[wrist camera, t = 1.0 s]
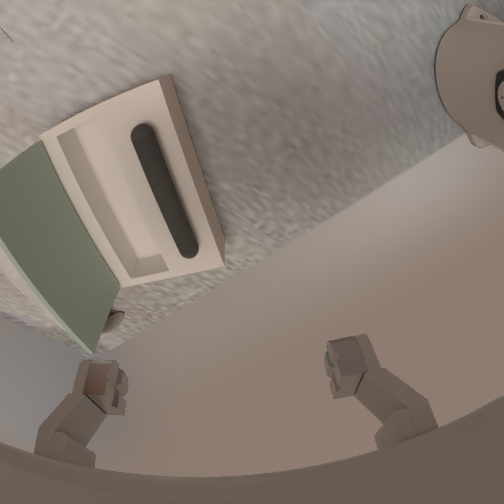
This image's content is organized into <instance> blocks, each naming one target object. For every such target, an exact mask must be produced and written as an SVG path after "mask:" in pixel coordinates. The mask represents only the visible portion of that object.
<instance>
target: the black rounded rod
mask: <svg viewBox="0 0 504 504" xmlns="http://www.w3.org/2000/svg"><path fill="white" fill-rule="evenodd" d="M131 141H132V144H133V146H134V149H135V151H136V154H137V156H138V159H139V161H140V164H141V166H142V168H143V171H144V173H145V176H146V178H147V181H148V183H149V185H150V188H151V190H152V192H153V195H154V197H155V199H156V202H157V204H158V206H159V208H160V211H161V213H162V215H163V218H164V220H165V222H166V224H167V226H168V229H169V231H170V233H171V235H172V237H173V240H174V242H175V244H176V246H177V248H178V250H179V252H180V254H181V255H182V256H183V257H184V258H187V259H191V258H194V257H195V256H196V255H197V254H198V251H199V246H198V243H197V241H196V238H195V236H194V233H193V231H192V228H191V226H190V224H189V221H188V219H187V216H186V214H185V211H184V209H183V206H182V204H181V201H180V199H179V196H178V194H177V191H176V188H175V186H174V183H173V181H172V178H171V176H170V173H169V170H168V168H167V165H166V162H165V160H164V157H163V154H162V152H161V149H160V146H159V144H158V141H157V138H156V135H155V133H154V130H153V128H152V127H151V126H150V125H148V124H139V125H137V126H135V127H134V128H133V130H132V132H131Z"/></svg>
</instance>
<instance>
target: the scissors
mask: <svg viewBox="0 0 504 504" xmlns="http://www.w3.org/2000/svg"><path fill="white" fill-rule="evenodd" d="M0 34H1V35H3V36H4V37H6V38H7V39H9V40H10V41H11V42H12V40H11V39H10V38H9V37H8V36H7V35H6V33H5V32H4V31H3V30H2V29H1V28H0Z"/></svg>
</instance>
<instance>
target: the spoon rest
mask: <svg viewBox="0 0 504 504" xmlns="http://www.w3.org/2000/svg"><path fill="white" fill-rule="evenodd" d="M0 267H1V269H2V271H3V272H4V274H5V275H6V276H7V278H8V279H9V280H10V281H11V282H12V283H13V284H14V286H15V287H16V288H17V289H18V290H20V291H21V292H22V293H23V294H24V295H25V296H26V297H27V298H28V299H29V300H30V301H31V302H32V303H33V304H35V305H36V306H37V307H38V308H39V309H40V310H41V311H42V312H43V313H44V314H45V315H47V316H48V317H49V318H50V319H51V320H52V321H53V322H54V323H56V324H57V325H58V326H59V327H61V328H62V329H63V330H65V329H64V328H63V327H62V326H61V324H60V323H59V322H58V321H57V320H56V319H55V318H54V316H53V315H52V314H51V313H50V312H49V311H48V309H47V308H46V307H45V306H44V305H43V303H42V302H41V301H40V300H39V299H38V297H37V296H36V295H35V293H34V292H33V291H32V290H31V288H30V287H29V286H28V284H27V283H26V282H25V281H24V279H23V278H22V277H21V275H20V274H19V272H18V271H17V270H16V268H15V267H14V265H13V264H12V263H11V261H10V260H9V258H8V257H7V255H6V254H5V252H4V251H3V249H2V248H1V246H0ZM123 317H124V314H123V313H122V312H117V313H114V314H112V315H111V316H110V317H108V318H107V320H106V323H105V325H104V328H103V331H102V333H101V336H100V338H102V337H103V336H105V335H108V334H110V333H111V332H113V331H114V330H115V329H116V328H117V327H118V326H119V324H120V323H121V321H122V319H123ZM65 331H66V330H65ZM66 332H67V331H66ZM67 333H68V332H67Z"/></svg>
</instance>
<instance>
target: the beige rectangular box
mask: <svg viewBox="0 0 504 504" xmlns="http://www.w3.org/2000/svg"><path fill="white" fill-rule="evenodd" d="M139 124H148V125H150V126H151V127H152V128H153V130H154V133H155V135H156V138H157V141H158V144H159V146H160V149H161V152H162V154H163V157H164V160H165V162H166V165H167V168H168V170H169V173H170V176H171V178H172V181H173V183H174V186H175V188H176V191H177V194H178V196H179V199H180V201H181V204H182V206H183V209H184V211H185V214H186V216H187V219H188V221H189V224H190V226H191V228H192V231H193V233H194V236H195V238H196V241H197V243H198V246H199V251H198V254H197V255H196V256H195V257H194V258H191V259H187V258H184V257H183V256H182V255H181V254H180V252H179V250H178V248H177V246H176V244H175V242H174V240H173V237H172V235H171V233H170V231H169V229H168V226H167V224H166V222H165V220H164V218H163V215H162V213H161V211H160V208H159V206H158V204H157V202H156V199H155V197H154V195H153V192H152V190H151V188H150V185H149V183H148V181H147V178H146V176H145V173H144V171H143V168H142V166H141V164H140V161H139V159H138V156H137V154H136V151H135V149H134V146H133V144H132V141H131V132H132V130H133V128H134V127H135V126H137V125H139ZM38 137H39V139H40V141H41V143H42V145H43V147H44V150H45V152H46V154H47V156H48V159H49V161H50V163H51V165H52V167H53V169H54V171H55V173H56V175H57V178H58V180H59V182H60V184H61V186H62V188H63V190H64V191H65V193H66V195H67V197H68V199H69V201H70V203H71V205H72V207H73V209H74V210H75V212H76V214H77V216H78V218H79V220H80V221H81V223H82V225H83V227H84V228H85V230H86V232H87V234H88V235H89V237H90V239H91V240H92V242H93V244H94V245H95V247H96V249H97V250H98V252H99V254H100V255H101V257H102V259H103V260H104V262H105V263H106V265H107V267H108V268H109V270H110V271H111V273H112V274H113V276H114V277H115V279H116V280H117V282H118V283H119V285H120V287H121V288H123V287H128V286H133V285H137V284H142V283H147V282H152V281H157V280H162V279H167V278H171V277H176V276H181V275H186V274H191V273H195V272H200V271H205V270H210V269H215V268H219V267H224V266H225V238H224V235H223V232H222V229H221V226H220V223H219V220H218V217H217V214H216V212H215V209H214V206H213V203H212V200H211V197H210V194H209V191H208V188H207V185H206V182H205V179H204V176H203V173H202V170H201V167H200V164H199V161H198V158H197V155H196V152H195V149H194V146H193V143H192V140H191V137H190V134H189V131H188V128H187V125H186V122H185V119H184V116H183V112H182V109H181V106H180V103H179V100H178V97H177V94H176V91H175V87H174V84H173V81H172V78H171V75H170V74H169V75H166V76H163V77H160V78H157V79H155V80H152V81H149V82H147V83H144V84H141V85H139V86H136V87H134V88H131V89H129V90H126V91H124V92H122V93H119V94H117V95H115V96H112V97H110V98H108V99H106V100H103V101H101V102H99V103H97V104H95V105H93V106H91V107H89V108H87V109H84V110H82V111H80V112H79V113H77V114H75V115H73V116H71V117H69V118H67V119H65V120H63V121H62V122H60V123H58V124H57V125H55V126H53V127H52V128H50V129H48V130H47V131H45V132H44V133H42V134H41V135H39V136H38Z"/></svg>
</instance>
